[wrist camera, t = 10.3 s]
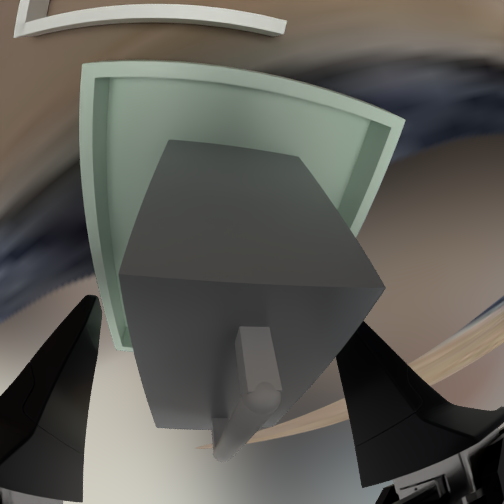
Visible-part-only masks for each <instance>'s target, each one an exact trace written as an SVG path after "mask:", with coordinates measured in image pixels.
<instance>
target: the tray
mask: <svg viewBox="0 0 504 504" xmlns="http://www.w3.org/2000/svg"><path fill="white" fill-rule="evenodd" d="M404 123H405V119H403V118H401V117H399V116H397V115H395V114H393V113H391V112H389V111H386V110H384V109H382V108H380V107H378V106H375V105H373V104H370V103H367V102H365V101H362V100H359V99H357V98H354V97H351V96H348V95H345V94H342V93H339V92H336V91H333V90H330V89H327V88H323V87H320V86H316V85H313V84H309V83H306V82H302V81H298V80H294V79H290V78H286V77H282V76H278V75H273V74H268V73H264V72H259V71H253V70H248V69H242V68H236V67H229V66H222V65H215V64H206V63H197V62H185V61H170V60H105V61H97V62H90V63H84V64H82V73H81V86H80V107H79V145H80V167H81V181H82V192H83V202H84V210H85V218H86V225H87V232H88V238H89V244H90V250H91V255H92V260H93V265H94V270H95V275H96V279H97V284H98V288H99V292H100V296H101V300H102V304H103V308H104V312H105V316H106V319H107V322H108V326H109V329H110V333H111V336H112V339H113V343H114V345H115V349H116V350H120V351H129V352H134V351H133V347H132V343H131V338H130V334H129V329H128V325H127V320H126V315H125V310H124V305H123V299H122V294H121V288H120V282H119V275H118V273H119V270H120V266H121V263H122V260H123V257H124V253H125V250H126V247H127V244H128V241H129V238H130V235H131V232H132V229H133V226H134V224H135V221H136V218H137V215H138V212H139V210H140V207H141V204H142V202H143V199H144V197H145V194H146V191H147V189H148V186H149V184H150V181H151V179H152V177H153V174H154V172H155V169H156V167H157V165H158V162H159V160H160V158H161V156H162V153H163V151H164V149H165V147H166V144H167V142H168V140H182V141H193V142H203V143H212V144H221V145H229V146H236V147H243V148H250V149H257V150H263V151H269V152H275V153H281V154H286V155H292V156H297V157H299V158H300V159H301V160H302V162H303V163H304V164H305V166H306V167H307V168H308V170H309V171H310V172H311V174H312V175H313V176H314V178H315V179H316V181H317V182H318V183H319V185H320V186H321V188H322V189H323V190H324V192H325V193H326V195H327V196H328V197H329V199H330V200H331V202H332V203H333V205H334V206H335V208H336V209H337V211H338V212H339V213H340V215H341V216H342V218H343V219H344V221H345V222H346V224H347V225H348V227H349V229H350V230H351V232H352V233H353V235H354V236H355V238H356V237H357V235H358V233H359V231H360V229H361V227H362V224H363V222H364V220H365V218H366V216H367V214H368V212H369V209H370V207H371V205H372V203H373V200H374V198H375V196H376V194H377V191H378V189H379V187H380V184H381V182H382V180H383V177H384V175H385V172H386V170H387V167H388V165H389V162H390V160H391V157H392V155H393V152H394V150H395V147H396V145H397V142H398V139H399V137H400V134H401V131H402V128H403V126H404Z"/></svg>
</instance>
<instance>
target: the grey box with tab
mask: <svg viewBox="0 0 504 504" xmlns="http://www.w3.org/2000/svg"><path fill="white" fill-rule="evenodd" d="M118 275H119V282H120V288H121V294H122V299H123V305H124V310H125V315H126V320H127V325H128V329H129V334H130V338H131V343H132V347H133V351H134V355H135V359H136V363H137V366H138V370H139V374H140V377H141V381H142V384H143V388H144V391H145V394H146V398H147V401H148V404H149V407H150V410H151V413H152V416H153V419H154V422H155V424H156V427H157V428H169V429H193V430H212V441H213V456H214V458H215V459H216V460H217V461H220V462H227V461H229V460H230V459H231V458H232V457H233V456H234V455H235V454H236V453H237V452H238V451H239V450H240V449H241V448H242V447H243V446H244V445H245V444H246V443H247V442H248V440H249V439H250V438H251V437H252V436H253V435H254V434H255V433H256V432H257V431H258V430H259V428H261V427H262V428H263V427H273V426H274V425H275V424H276V423H277V422H278V421H279V420H280V419H281V418H282V417H283V416H284V414H286V412H288V410H289V409H290V408H291V407H292V406H293V405H294V404H295V403H296V402H297V401H298V400H299V399H300V398H301V397H302V395H303V394H304V393H305V392H306V391H307V390H308V389H309V388H310V387H311V385H312V384H313V383H314V382H315V381H316V380H317V378H318V377H319V376H320V375H321V374H322V373H323V371H324V370H325V369H326V368H327V366H328V365H329V364H330V363H331V362H332V361H333V359H334V358H335V357H336V356H337V354H338V353H339V352H340V351H341V349H342V348H343V347H344V346H345V344H346V343H347V342H348V340H349V339H350V338H351V336H352V335H353V334H354V333H355V331H356V330H357V328H358V327H359V326H360V324H361V323H362V322H363V320H364V319H365V318H366V316H367V315H368V313H369V312H370V310H371V309H372V307H373V306H374V305H375V303H376V302H377V300H378V299H379V297H380V296H381V294H382V293H383V291H384V290H385V286H384V284H383V282H382V280H381V279H380V277H379V275H378V274H377V272H376V270H375V269H374V267H373V265H372V264H371V262H370V260H369V259H368V257H367V256H366V254H365V252H364V251H363V249H362V247H361V246H360V244H359V243H358V241H357V239H356V238H355V236H354V235H353V233H352V232H351V230H350V229H349V227H348V225H347V224H346V222H345V221H344V219H343V218H342V216H341V215H340V213H339V212H338V211H337V209H336V208H335V206H334V205H333V203H332V202H331V200H330V199H329V197H328V196H327V195H326V193H325V192H324V190H323V189H322V188H321V186H320V185H319V183H318V182H317V181H316V179H315V178H314V176H313V175H312V174H311V172H310V171H309V170H308V168H307V167H306V166H305V164H304V163H303V162H302V160H301V159H300V158H299V157H297V156H292V155H286V154H281V153H275V152H269V151H263V150H257V149H250V148H243V147H236V146H229V145H221V144H212V143H203V142H193V141H182V140H168V142H167V144H166V147H165V149H164V151H163V153H162V156H161V158H160V160H159V162H158V165H157V167H156V169H155V172H154V174H153V177H152V179H151V181H150V184H149V186H148V189H147V191H146V194H145V197H144V199H143V202H142V204H141V207H140V210H139V212H138V215H137V218H136V221H135V224H134V226H133V229H132V232H131V235H130V238H129V241H128V244H127V247H126V250H125V253H124V257H123V260H122V263H121V266H120V270H119V273H118Z"/></svg>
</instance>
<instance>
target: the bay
mask: <svg viewBox="0 0 504 504" xmlns="http://www.w3.org/2000/svg"><path fill="white" fill-rule="evenodd" d="M49 1H50V0H20V4H19V9H18V14H17V19H16V25H15V31H14V38H20V37H33V36H38V35H42V34H47V33H51V32H56V31H61V30H67V29H73V28H80V27H87V26H95V25H105V24H118V23H144V22H157V23H184V24H197V25H207V26H216V27H224V28H231V29H237V30H243V31H249V32H254V33H259V34H264V35H268V36H273V37H275V36H279V35H283V34H284V31H285V27H286V23H287V21H285V20H281V19H277V18H273V17H269V16H264V15H259V14H254V13H249V12H243V11H237V10H231V9H224V8H216V7H207V6H196V5H180V4H134V5H118V6H107V7H98V8H91V9H84V10H78V11H72V12H67V13H62V14H57V15H53V16H49V17H46V16H47V11H48V6H49Z"/></svg>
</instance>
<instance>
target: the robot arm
mask: <svg viewBox="0 0 504 504" xmlns="http://www.w3.org/2000/svg"><path fill="white" fill-rule="evenodd" d="M101 320H102V310H101V306H100V302H99V299H98V297H97V296H95V295H87V296H85V297H84V298H83V299H82V300H81V302H79V304H78V305H77V306H76V307H75V308H74V309H73V310H72V311H71V313H70V314H69V315H68V316H67V317H66V318H65V319H64V320H63V322H62V323H61V324H60V325H59V326H58V327H57V329H56V330H55V331H54V332H53V333H52V335H51V336H50V337H49V338H48V339H47V340H46V342H45V343H44V344H43V345H42V347H41V348H40V349H39V350H38V352H37V353H36V354H35V355H34V357H33V358H32V359H31V360H30V362H29V363H28V364H27V365H26V367H25V368H24V369H23V371H22V372H21V373H20V374H19V376H18V377H17V378H16V379H15V380H14V382H13V383H12V384H11V385H10V386H9V387H8V389H6V391H5V392H4V393H3V394H2V395H1V396H0V504H63V500H64V501H73V502H83V464H84V447H85V436H86V426H87V418H88V410H89V402H90V396H91V389H92V383H93V378H94V372H95V367H96V361H97V356H98V347H99V337H100V328H101ZM336 360H337V365H338V369H339V373H340V378H341V382H342V386H343V391H344V395H345V400H346V405H347V409H348V414H349V419H350V424H351V429H352V434H353V439H354V444H355V451H356V456H357V462H358V468H359V473H360V479H361V485H362V488H364V487H368V486H372V485H376V484H379V483H383V482H386V481H390V480H393V482H394V484H392V485H390V486H387V487H385V488H383V490H382V492H381V494H380V496H379V498H378V500H377V501H376V503H375V504H504V427H502V428H501V429H498V427H499V426H500V425H501V424H502V423H503V422H504V407H500V408H498V409H497V410H495V411H487V410H480V409H474V408H468V407H462V406H457V405H454V404H452V403H450V402H448V401H447V400H445V399H444V398H443V397H442V396H441V395H440V394H439V393H437V392H436V391H435V390H434V389H433V388H432V387H430V386H429V385H428V384H427V383H426V382H425V381H424V380H423V379H421V378H420V377H419V376H418V375H417V374H416V373H415V372H414V371H413V370H412V369H411V368H410V367H409V366H408V365H407V364H406V363H405V362H404V361H403V360H402V359H401V358H400V357H399V356H398V355H397V354H396V353H395V352H394V351H393V350H392V349H391V348H390V347H389V346H388V345H387V344H386V343H385V342H384V341H383V340H382V339H381V338H380V337H379V336H378V335H377V334H376V333H375V332H374V331H373V330H372V329H371V328H370V327H369V326H368V325H367V324H366V323H365V322H364V321H363V322H362V323H361V324H360V326H359V327H358V328H357V330H356V331H355V333H354V334H353V335H352V336H351V338H350V339H349V340H348V342H347V343H346V344H345V346H344V347H343V348H342V349H341V351H340V352H339V353H338V354H337V356H336Z"/></svg>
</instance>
